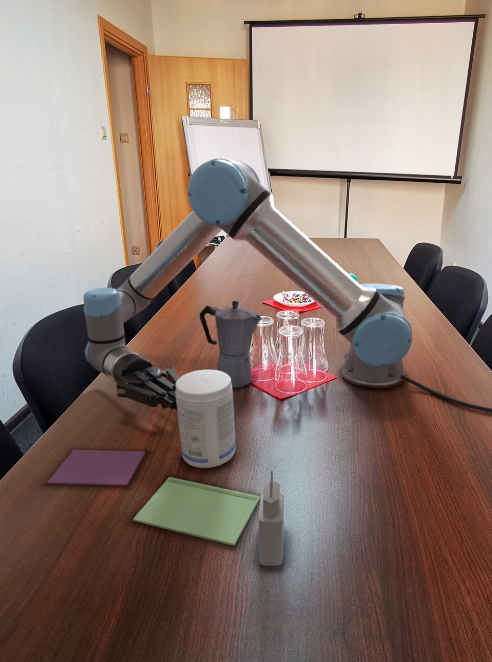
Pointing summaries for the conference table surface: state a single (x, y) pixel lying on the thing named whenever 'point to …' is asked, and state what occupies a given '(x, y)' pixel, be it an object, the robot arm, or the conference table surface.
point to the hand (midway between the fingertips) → (190, 409)
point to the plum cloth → (98, 468)
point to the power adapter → (271, 524)
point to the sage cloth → (199, 510)
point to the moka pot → (233, 340)
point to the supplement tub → (206, 418)
